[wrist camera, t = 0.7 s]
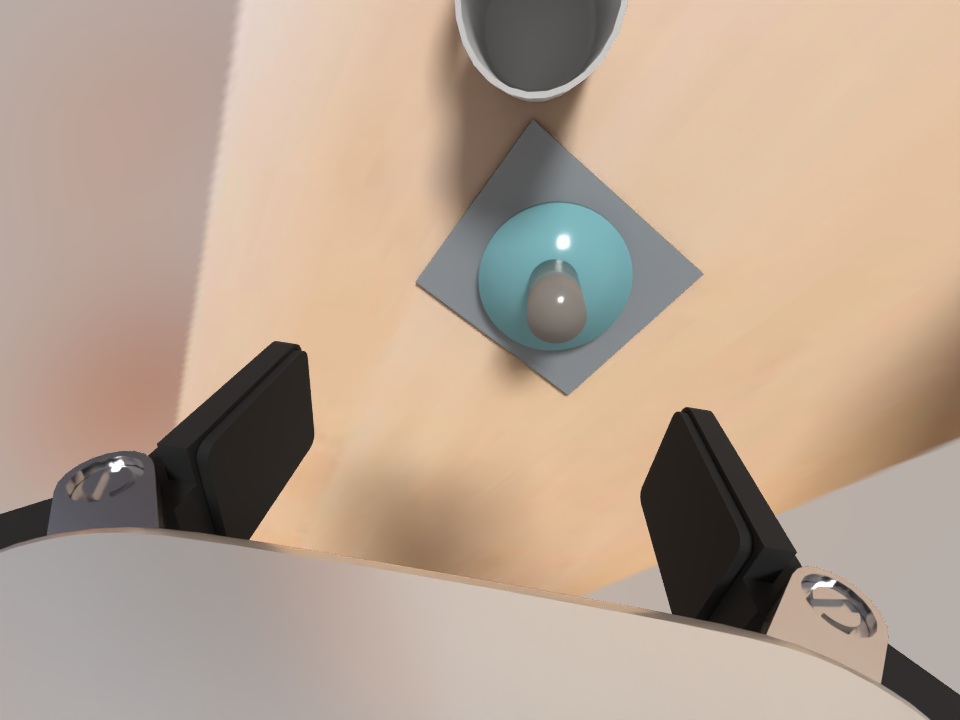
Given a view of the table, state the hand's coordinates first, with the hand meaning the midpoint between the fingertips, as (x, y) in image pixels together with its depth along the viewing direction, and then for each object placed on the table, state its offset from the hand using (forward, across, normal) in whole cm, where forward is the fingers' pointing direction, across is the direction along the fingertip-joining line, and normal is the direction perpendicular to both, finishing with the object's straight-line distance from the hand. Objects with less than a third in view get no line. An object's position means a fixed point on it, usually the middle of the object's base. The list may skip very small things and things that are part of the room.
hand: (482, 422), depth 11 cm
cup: (+24, +1, -12) cm, 26 cm away
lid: (+23, -4, +3) cm, 23 cm away
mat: (+23, -4, +3) cm, 24 cm away
